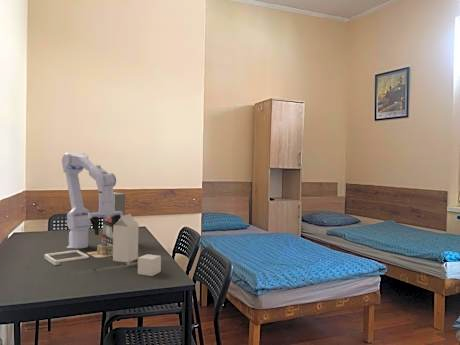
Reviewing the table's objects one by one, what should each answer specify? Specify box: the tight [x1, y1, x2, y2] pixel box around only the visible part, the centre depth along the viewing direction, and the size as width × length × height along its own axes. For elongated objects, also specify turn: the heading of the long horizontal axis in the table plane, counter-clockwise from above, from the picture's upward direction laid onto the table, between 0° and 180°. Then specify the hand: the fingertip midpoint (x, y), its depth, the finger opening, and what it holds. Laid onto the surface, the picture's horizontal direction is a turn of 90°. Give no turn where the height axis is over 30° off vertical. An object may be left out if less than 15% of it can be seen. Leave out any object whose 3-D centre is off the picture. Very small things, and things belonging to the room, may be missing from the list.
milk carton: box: [112, 213, 139, 265], centre depth 154 cm, size 7×7×19 cm
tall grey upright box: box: [100, 191, 126, 245], centre depth 186 cm, size 14×6×25 cm, turn 41°
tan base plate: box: [85, 242, 113, 259], centre depth 164 cm, size 12×12×6 cm
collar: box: [96, 243, 113, 255], centre depth 163 cm, size 7×5×3 cm
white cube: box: [137, 253, 162, 277], centre depth 140 cm, size 6×6×6 cm
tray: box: [43, 249, 90, 266], centre depth 156 cm, size 13×13×2 cm
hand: (105, 233), depth 164 cm, fingers open, 7 cm apart
